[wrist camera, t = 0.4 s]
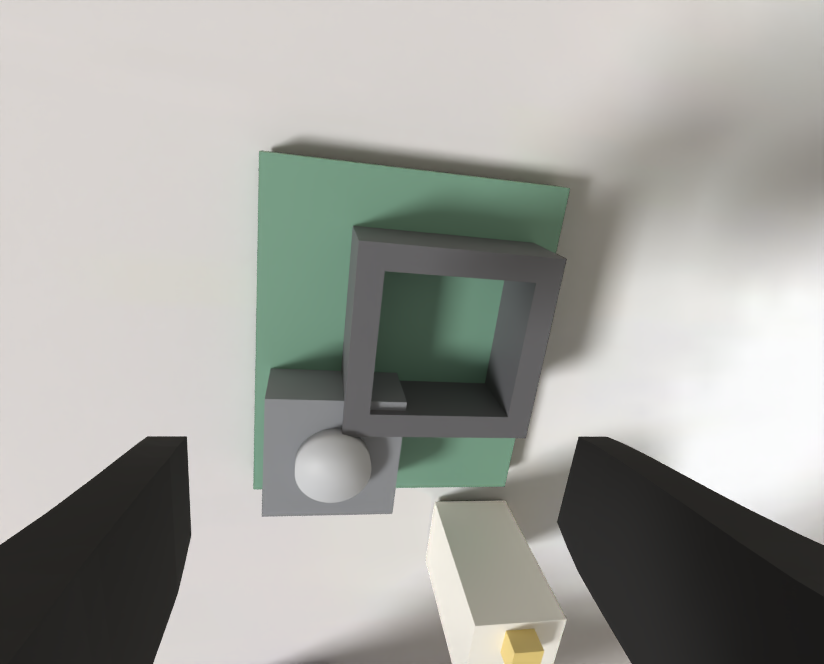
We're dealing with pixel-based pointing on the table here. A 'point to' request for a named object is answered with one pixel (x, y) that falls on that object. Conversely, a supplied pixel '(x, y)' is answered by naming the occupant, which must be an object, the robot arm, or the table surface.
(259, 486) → the board
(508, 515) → the plug
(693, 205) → the table surface
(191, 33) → the table surface
